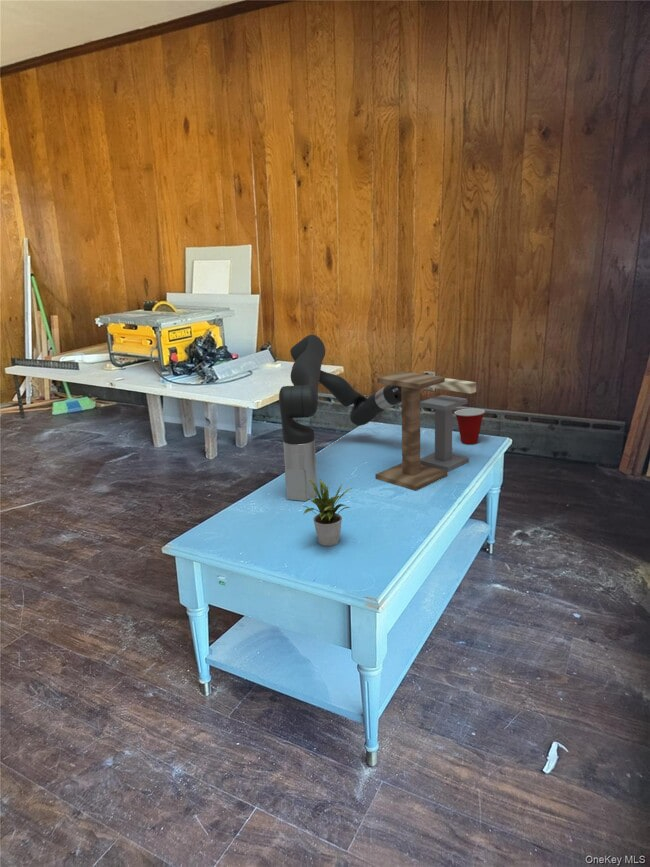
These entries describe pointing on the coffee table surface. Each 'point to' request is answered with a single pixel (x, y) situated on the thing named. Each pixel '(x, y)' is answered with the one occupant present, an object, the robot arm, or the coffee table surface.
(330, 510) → the house plant
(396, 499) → the coffee table surface
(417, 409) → the walnut stand
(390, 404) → the robot arm
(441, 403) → the charcoal stand
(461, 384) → the birch block
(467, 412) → the plastic cup
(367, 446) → the coffee table surface
